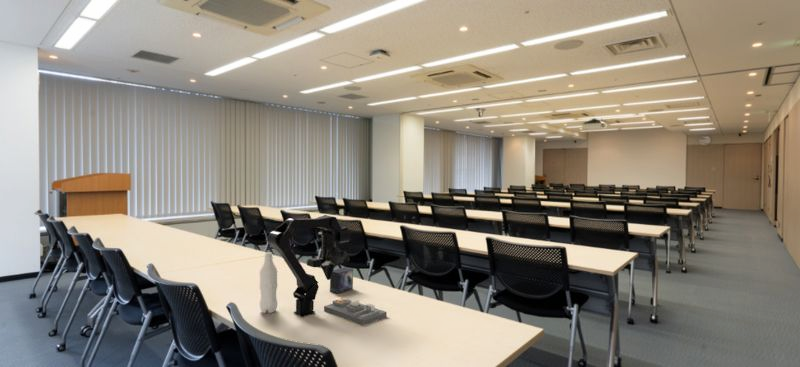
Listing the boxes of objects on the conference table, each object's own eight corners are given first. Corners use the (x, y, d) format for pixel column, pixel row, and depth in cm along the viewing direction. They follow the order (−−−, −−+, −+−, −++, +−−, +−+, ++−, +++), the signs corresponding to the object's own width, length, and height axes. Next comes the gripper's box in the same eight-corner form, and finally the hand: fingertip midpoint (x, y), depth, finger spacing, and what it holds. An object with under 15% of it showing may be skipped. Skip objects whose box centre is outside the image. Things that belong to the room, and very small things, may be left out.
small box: (338, 294, 195) (338, 272, 195) (329, 291, 199) (329, 270, 199) (353, 289, 203) (353, 268, 203) (344, 286, 207) (344, 266, 207)
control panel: (363, 325, 155) (363, 316, 155) (324, 310, 171) (324, 302, 171) (386, 316, 165) (386, 308, 165) (347, 303, 181) (347, 295, 181)
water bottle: (271, 315, 166) (271, 255, 165) (256, 313, 167) (256, 254, 166) (280, 309, 173) (280, 251, 172) (265, 308, 174) (265, 250, 173)
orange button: (340, 305, 171) (340, 301, 171) (335, 304, 174) (335, 299, 174) (346, 304, 174) (346, 299, 174) (341, 302, 176) (341, 298, 176)
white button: (354, 307, 165) (354, 303, 165) (349, 306, 168) (349, 301, 168) (360, 305, 168) (360, 301, 168) (355, 304, 170) (355, 299, 170)
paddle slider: (371, 314, 162) (371, 306, 161) (365, 312, 163) (365, 304, 163) (374, 312, 163) (374, 305, 163) (369, 311, 165) (369, 303, 165)
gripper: (321, 249, 164) (320, 287, 164) (356, 244, 177) (356, 279, 177) (306, 245, 172) (306, 282, 172) (341, 241, 185) (341, 274, 185)
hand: (328, 279), depth 177 cm, fingers closed
